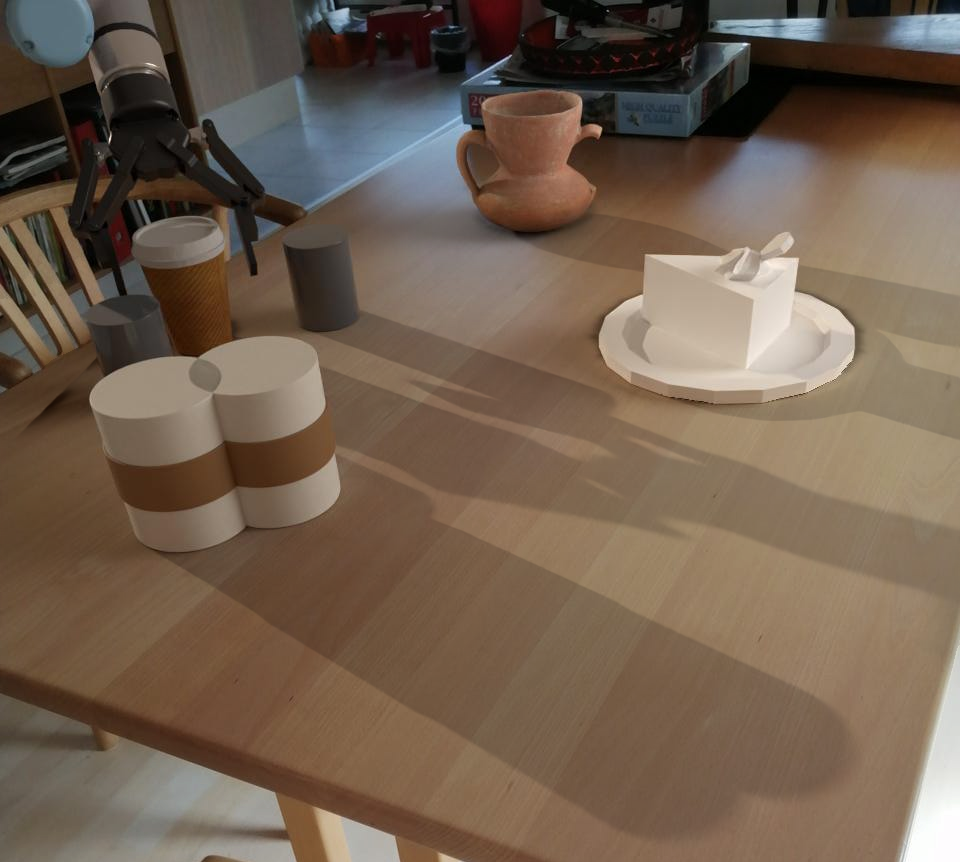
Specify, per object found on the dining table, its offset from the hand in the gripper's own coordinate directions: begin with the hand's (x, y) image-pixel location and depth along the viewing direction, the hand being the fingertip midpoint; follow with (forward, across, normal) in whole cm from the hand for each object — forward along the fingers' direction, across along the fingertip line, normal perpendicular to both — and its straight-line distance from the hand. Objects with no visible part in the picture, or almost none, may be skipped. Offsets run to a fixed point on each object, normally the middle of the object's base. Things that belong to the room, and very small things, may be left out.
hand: (189, 282), depth 108 cm
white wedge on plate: (+23, -49, +13) cm, 55 cm away
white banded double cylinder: (+29, +2, +19) cm, 35 cm away
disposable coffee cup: (+5, 0, -5) cm, 7 cm away
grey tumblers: (+8, -3, -1) cm, 9 cm away
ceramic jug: (-7, -44, -17) cm, 48 cm away
